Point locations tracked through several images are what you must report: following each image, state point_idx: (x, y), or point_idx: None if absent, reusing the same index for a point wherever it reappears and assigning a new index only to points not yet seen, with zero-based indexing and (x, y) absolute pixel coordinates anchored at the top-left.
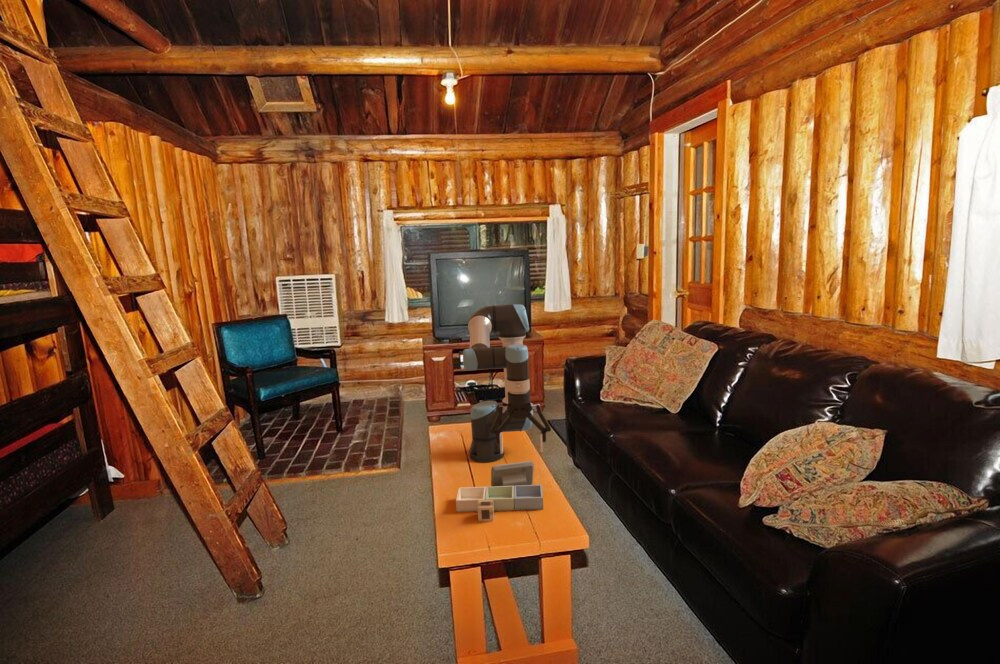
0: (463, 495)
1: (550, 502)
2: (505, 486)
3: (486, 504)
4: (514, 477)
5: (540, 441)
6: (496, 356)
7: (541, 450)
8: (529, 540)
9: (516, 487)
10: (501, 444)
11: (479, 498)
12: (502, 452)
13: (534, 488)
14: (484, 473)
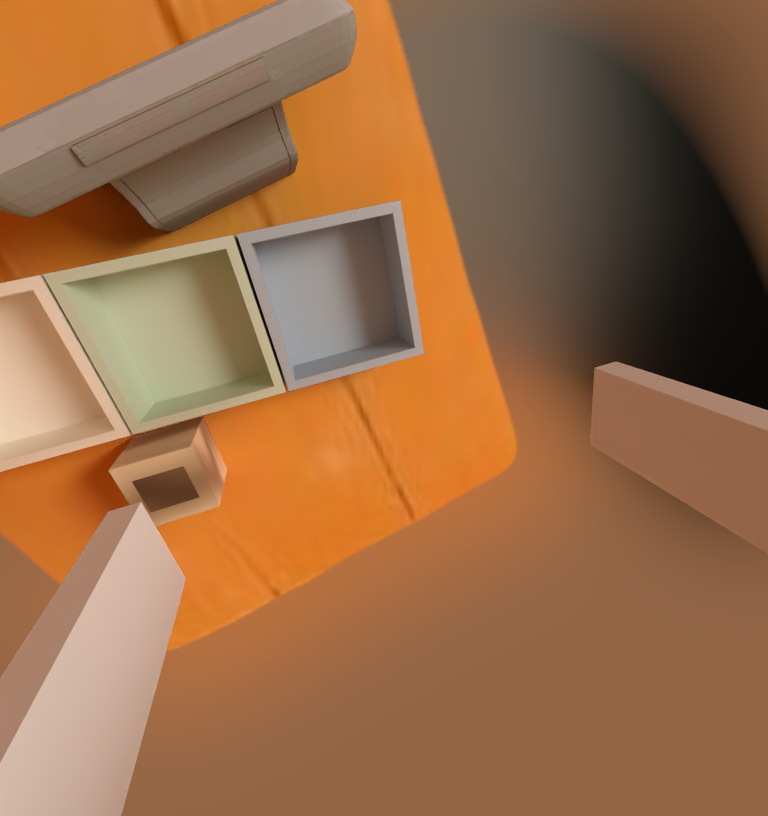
0: None
1: (427, 275)
2: (181, 255)
3: (176, 495)
4: (209, 155)
5: (714, 517)
6: None
7: (613, 451)
8: (388, 532)
9: (253, 242)
10: (135, 716)
11: (43, 309)
12: (179, 595)
13: (356, 221)
14: None
